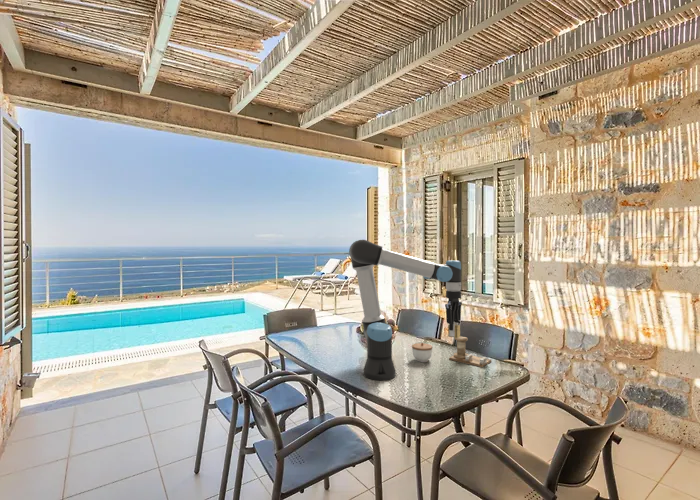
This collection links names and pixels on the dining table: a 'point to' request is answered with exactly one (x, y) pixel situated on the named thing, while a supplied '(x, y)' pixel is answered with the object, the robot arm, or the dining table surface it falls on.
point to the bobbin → (461, 348)
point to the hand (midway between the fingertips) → (453, 335)
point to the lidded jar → (422, 352)
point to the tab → (457, 331)
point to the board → (472, 360)
